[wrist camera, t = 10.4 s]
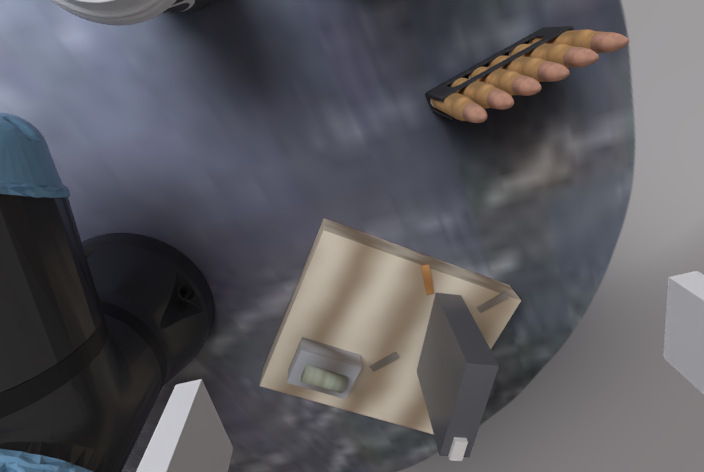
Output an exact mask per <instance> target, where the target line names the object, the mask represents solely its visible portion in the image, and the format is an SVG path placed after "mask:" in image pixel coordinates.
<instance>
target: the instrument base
mask: <svg viewBox="0 0 704 472" xmlns="http://www.w3.org/2000/svg"><path fill="white" fill-rule="evenodd" d="M436 293H444V294H454V295H461V296H462V298H463V300H464V302H465V304H466V305H467V307H468V309H469V311H470V313H471V315H472V316H473V318H474V320H475V322H476V324H477V326H478V328H479V329H480V331H481V333H482V335H483V337H484V339H485V340H486V342H487V344H488V346H489V348H490V350H491V348H492V347H493V345H494V344H495V342H496V340H497V339H498V337H499V336H500V334H501V332H502V331H503V329H504V328H505V326H506V324H507V323H508V321H509V320H510V318H511V316H512V315H513V313H514V312H515V310H516V308H517V307H518V305H519V303H520V302H521V300H520V298H519V297H518V296H517V294H516V293H515V292H514V291H513V289H512V288H511V287H510V285H507V284H505V283H502V282H499V281H496V280H493V279H491V278H488V277H485V276H482V275H480V274H477V273H474V272H471V271H469V270H466V269H463V268H460V267H458V266H455V265H452V264H449V263H447V262H444V261H441V260H438V259H435V258H433V257H430V256H427V255H424V254H422V253H419V252H416V251H413V250H411V249H408V248H405V247H402V246H400V245H397V244H394V243H391V242H388V241H386V240H383V239H380V238H377V237H375V236H372V235H369V234H366V233H364V232H361V231H358V230H355V229H353V228H350V227H347V226H344V225H342V224H339V223H336V222H333V221H330V220H328V219H325V218H324V219H323V222H322V224H321V227H320V229H319V231H318V234H317V236H316V239H315V241H314V244H313V246H312V249H311V251H310V254H309V256H308V258H307V261H306V263H305V266H304V268H303V271H302V273H301V276H300V278H299V281H298V283H297V285H296V288H295V290H294V293H293V295H292V298H291V300H290V303H289V305H288V307H287V310H286V312H285V315H284V317H283V320H282V322H281V325H280V327H279V330H278V332H277V334H276V337H275V339H274V342H273V344H272V347H271V349H270V352H269V354H268V357H267V359H266V361H265V364H264V366H263V371H262V376H261V381H260V386H261V387H265V388H268V389H272V390H276V391H279V392H283V393H286V394H290V395H294V396H297V397H301V398H304V399H308V400H312V401H315V402H319V403H322V404H326V405H330V406H333V407H337V408H340V409H344V410H348V411H351V412H355V413H358V414H362V415H366V416H369V417H373V418H376V419H380V420H384V421H387V422H391V423H394V424H398V425H401V426H405V427H409V428H412V429H416V430H419V431H423V432H427V433H430V434H434V433H433V429H432V426H431V422H430V418H429V415H428V411H427V407H426V404H425V400H424V397H423V393H422V389H421V386H420V382H419V378H418V375H417V367H418V363H419V359H420V355H421V351H422V347H423V343H424V339H425V335H426V331H427V326H428V322H429V318H430V314H431V310H432V306H433V302H434V298H435V294H436Z"/></svg>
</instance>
